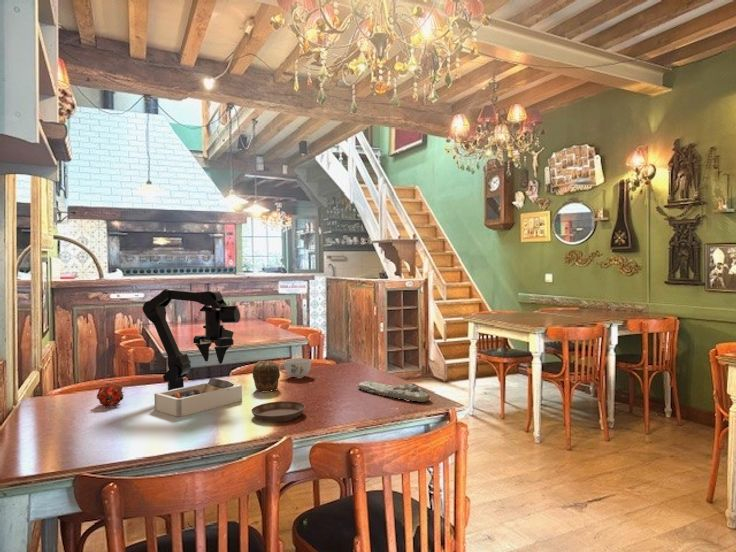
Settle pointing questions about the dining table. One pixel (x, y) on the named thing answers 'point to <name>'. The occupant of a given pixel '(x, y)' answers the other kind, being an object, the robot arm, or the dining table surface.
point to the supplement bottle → (185, 393)
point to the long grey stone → (396, 391)
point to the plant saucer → (278, 411)
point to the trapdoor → (217, 385)
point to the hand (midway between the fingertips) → (213, 362)
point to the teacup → (296, 367)
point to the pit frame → (195, 399)
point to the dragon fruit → (110, 394)
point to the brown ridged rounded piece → (266, 375)
